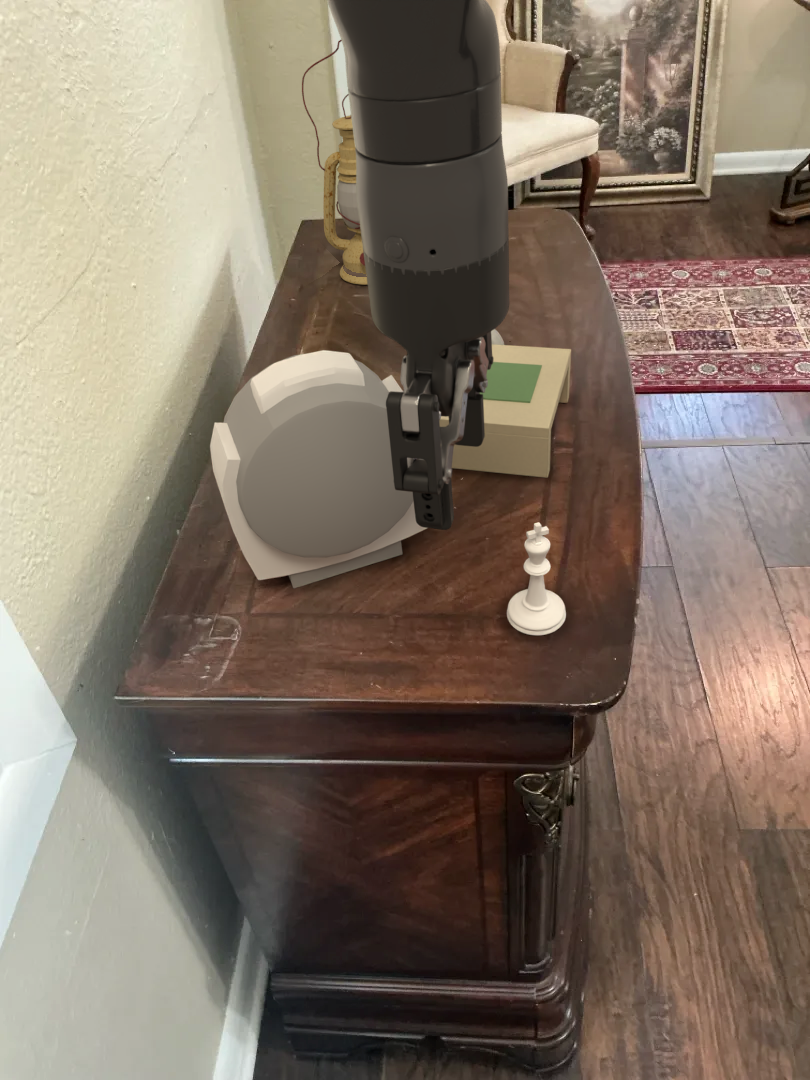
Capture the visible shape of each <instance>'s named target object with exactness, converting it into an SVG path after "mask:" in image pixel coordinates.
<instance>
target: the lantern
mask: <svg viewBox="0 0 810 1080" xmlns="http://www.w3.org/2000/svg"><path fill="white" fill-rule="evenodd" d="M340 43H342V40H341V39H339V40H338V41H337V45H336V49H335V50H334V51H333V52H331V53H330V54H328V55H326V56H325V57H323V58H321V59H319V60H318V61H316V62H314V63H313V64H312V65H310V66H309V67H308V68H307V69H306V70H305V72H304V73H303V76H302V79H301V96H302V102H303V106H304V109H305V111H306V113H307V115H308V117H309V119H310V121H311V123H312V125H313V126H314V130H315V135H316V140H317V146H316V154H317V155H316V156H317V162H318V166H319V168H320V169H321V170H323V202H322V203H323V232H324V236H325V239H326V241H327V243H329V244H330V245H331V246H332V247H333V248H334V249H336V250H339V251H343V253H342V262H343V265H342V266H341V267H340V270H339V276H340V278H342V280H343V281H345V282H347V283H350V284H354V285H368V284H367V277H356V276H352V275H349V274H347V273H346V272H345V271H344V269H343V266H344V265H345V267H346V268H347V269H349V270H351V271H352V272H356V273H363V274H366V269H365V261H364V253H363V245H362V237H361V229H360V222H359V214H358V206H357V195H356V151H355V148H356V147H355V142H354V134H353V126H352V118H351V114H350V115H346V111H345V106H344V103H345V100H346V99H347V98H348V97H349V95H348V93H347V94H346V95H344V98H343V99H342V101H341V107H342V111H343V116H342V117H339V118H337V119H335V120H334V121H333V122H332V127H333V128H334V129H336V130H338V131H339V136H340V137H341V139H342V142H339V144H338V151H335V152H332V153H331V154H330V155H329V156H328V157H327V158H326V160H325V162H324V167H323V166H322V165H321V161H320V150H319V149H320V139H319V134H318V129H317V125H316V124H315V121H314V120H313V118H312V116H311V114H310V113H309V110H308V108H307V105H306V101H305V92H304V84H305V83H304V82H305V76H306V74H307V73H308V72H309V71H310V70H311V69H312V68H313V67H314V66H316V65H318V64H320V63H321V62H323V61H325V60H327V59H329V58H330V57H332V56H333V55H335V54H336V53H337V52H338V51H339V49H340ZM337 172H338V176H337ZM337 179H338V182H337ZM336 189H337V190H336ZM336 191H337V193H336ZM336 195H337V197H336ZM336 198H337V201H336ZM336 210H337V213H338V214H339V215H340V216H341V218H342V220H343V223H344V225H345V226H346V229H347V230H348V231H351V232H353V233H354V235H353V237H352V238H351V239H342V238H340V237H339V236H338V235H337V232H336Z"/></svg>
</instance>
